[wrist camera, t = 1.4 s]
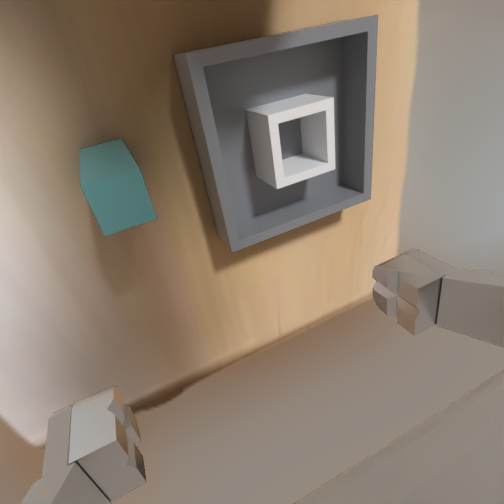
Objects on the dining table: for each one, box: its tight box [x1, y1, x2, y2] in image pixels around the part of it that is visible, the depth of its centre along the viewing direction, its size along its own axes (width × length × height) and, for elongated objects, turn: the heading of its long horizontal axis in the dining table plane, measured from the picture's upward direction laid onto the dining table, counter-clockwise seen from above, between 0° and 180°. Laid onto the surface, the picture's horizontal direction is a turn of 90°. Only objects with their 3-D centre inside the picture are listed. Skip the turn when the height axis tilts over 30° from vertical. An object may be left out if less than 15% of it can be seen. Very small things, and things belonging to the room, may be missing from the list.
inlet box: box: [172, 15, 378, 253], centre depth 37 cm, size 20×20×6 cm
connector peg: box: [79, 139, 157, 236], centre depth 29 cm, size 4×4×12 cm
